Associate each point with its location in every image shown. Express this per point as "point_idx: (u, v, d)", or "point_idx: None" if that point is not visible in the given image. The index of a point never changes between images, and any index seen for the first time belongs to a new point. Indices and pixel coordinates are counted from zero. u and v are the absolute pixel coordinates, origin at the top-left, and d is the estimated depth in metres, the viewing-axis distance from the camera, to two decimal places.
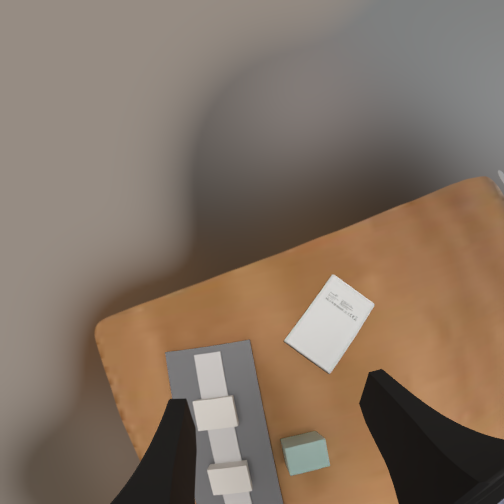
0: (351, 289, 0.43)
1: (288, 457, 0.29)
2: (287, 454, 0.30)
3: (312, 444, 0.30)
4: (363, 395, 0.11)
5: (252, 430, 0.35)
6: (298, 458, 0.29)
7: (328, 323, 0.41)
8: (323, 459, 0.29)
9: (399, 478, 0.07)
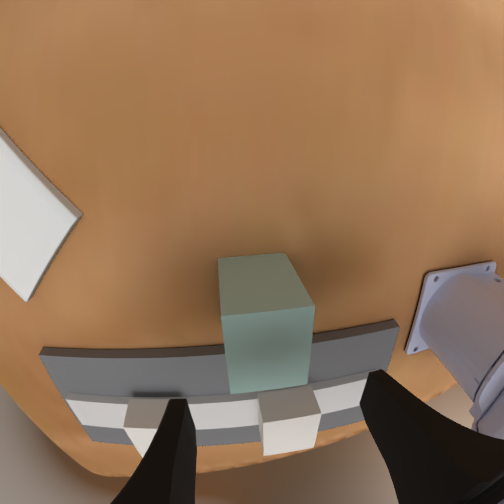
0: None
1: (256, 388, 0.14)
2: (247, 390, 0.14)
3: (230, 344, 0.13)
4: (363, 395, 0.11)
5: (198, 376, 0.20)
6: (264, 373, 0.14)
7: None
8: (288, 322, 0.13)
9: (399, 478, 0.07)
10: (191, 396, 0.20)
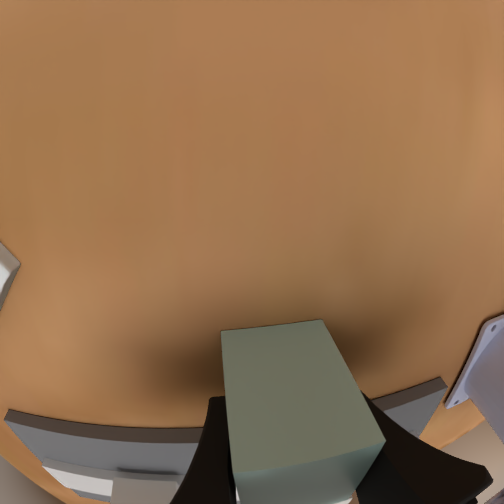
0: None
1: None
2: None
3: (248, 492, 0.06)
4: None
5: None
6: None
7: None
8: (341, 464, 0.06)
9: (362, 492, 0.07)
10: None
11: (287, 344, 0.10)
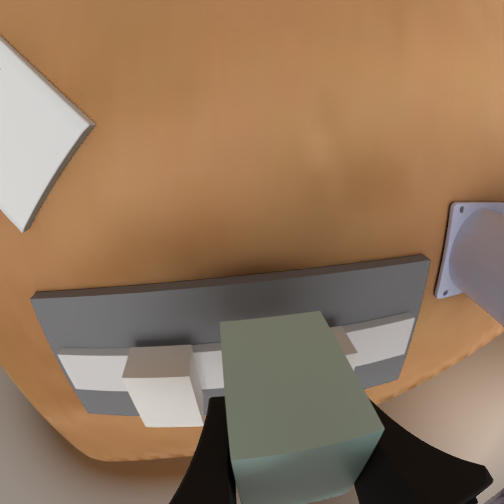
0: None
1: None
2: None
3: (246, 482, 0.06)
4: None
5: (212, 314, 0.18)
6: (293, 495, 0.07)
7: None
8: (340, 453, 0.06)
9: (362, 492, 0.07)
10: (203, 344, 0.19)
11: (285, 334, 0.10)
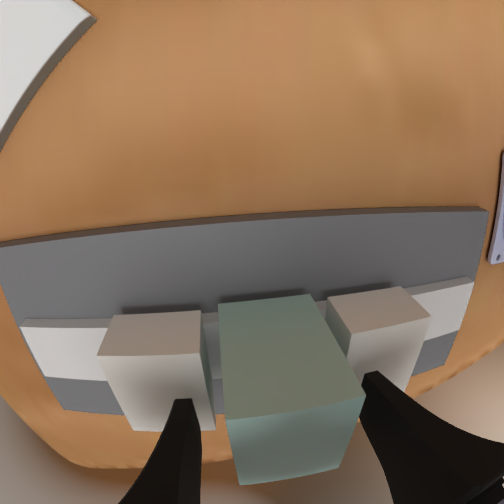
0: None
1: (274, 478, 0.09)
2: (262, 481, 0.09)
3: (240, 446, 0.08)
4: None
5: (233, 266, 0.13)
6: (286, 466, 0.09)
7: None
8: (326, 418, 0.08)
9: (394, 480, 0.07)
10: None
11: (277, 314, 0.12)
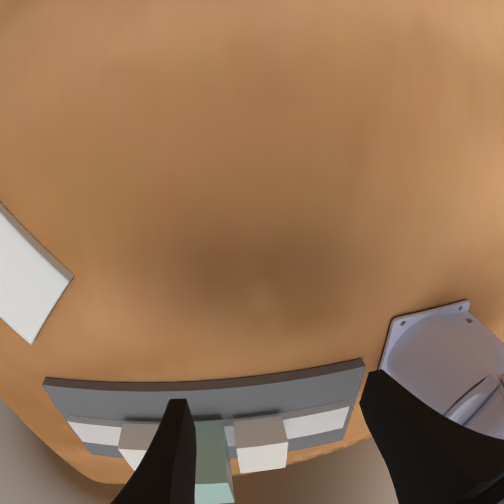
0: None
1: (202, 503, 0.18)
2: (196, 503, 0.18)
3: None
4: (363, 395, 0.11)
5: None
6: (204, 499, 0.17)
7: None
8: (213, 487, 0.16)
9: (399, 478, 0.07)
10: None
11: (202, 433, 0.20)
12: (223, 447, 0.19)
